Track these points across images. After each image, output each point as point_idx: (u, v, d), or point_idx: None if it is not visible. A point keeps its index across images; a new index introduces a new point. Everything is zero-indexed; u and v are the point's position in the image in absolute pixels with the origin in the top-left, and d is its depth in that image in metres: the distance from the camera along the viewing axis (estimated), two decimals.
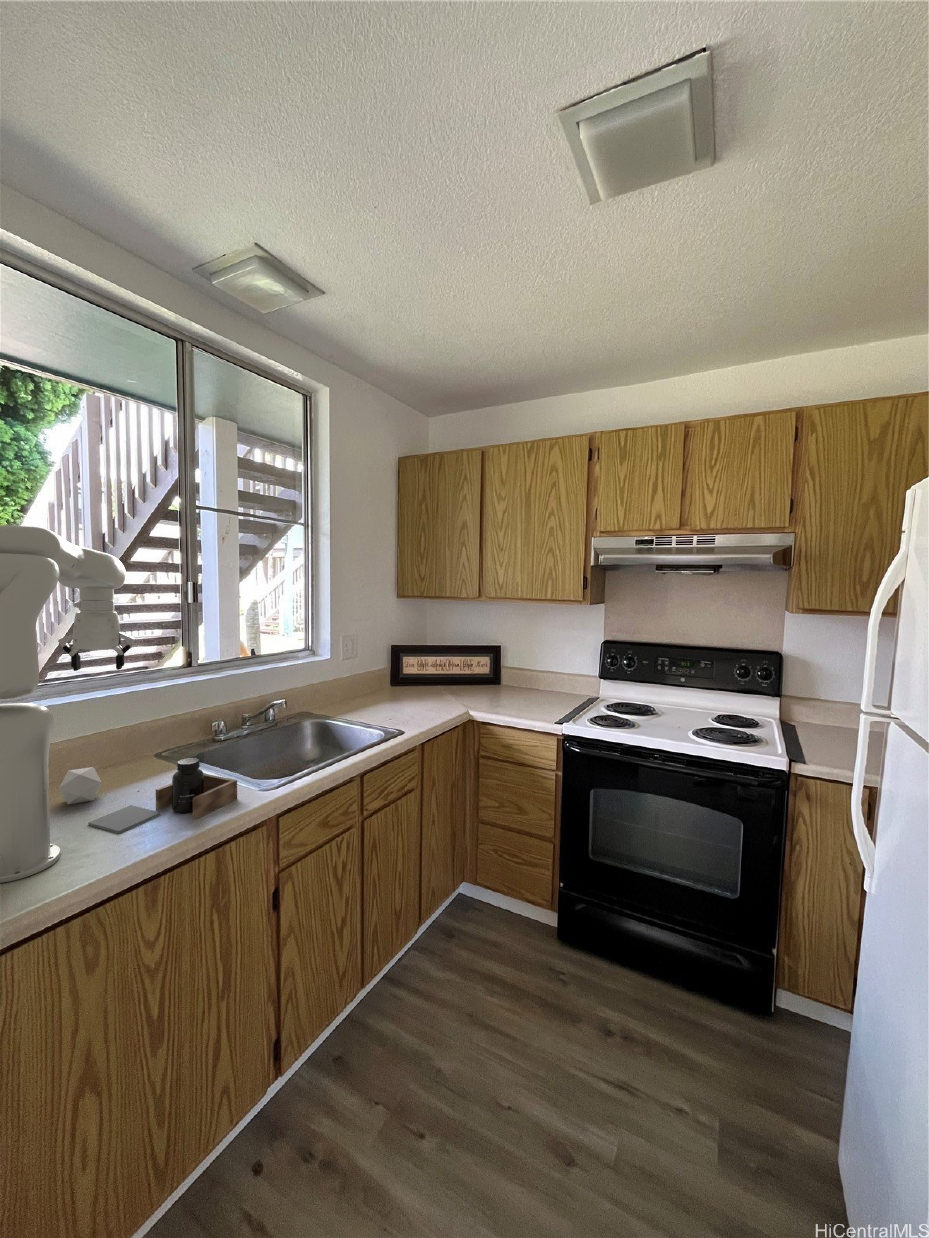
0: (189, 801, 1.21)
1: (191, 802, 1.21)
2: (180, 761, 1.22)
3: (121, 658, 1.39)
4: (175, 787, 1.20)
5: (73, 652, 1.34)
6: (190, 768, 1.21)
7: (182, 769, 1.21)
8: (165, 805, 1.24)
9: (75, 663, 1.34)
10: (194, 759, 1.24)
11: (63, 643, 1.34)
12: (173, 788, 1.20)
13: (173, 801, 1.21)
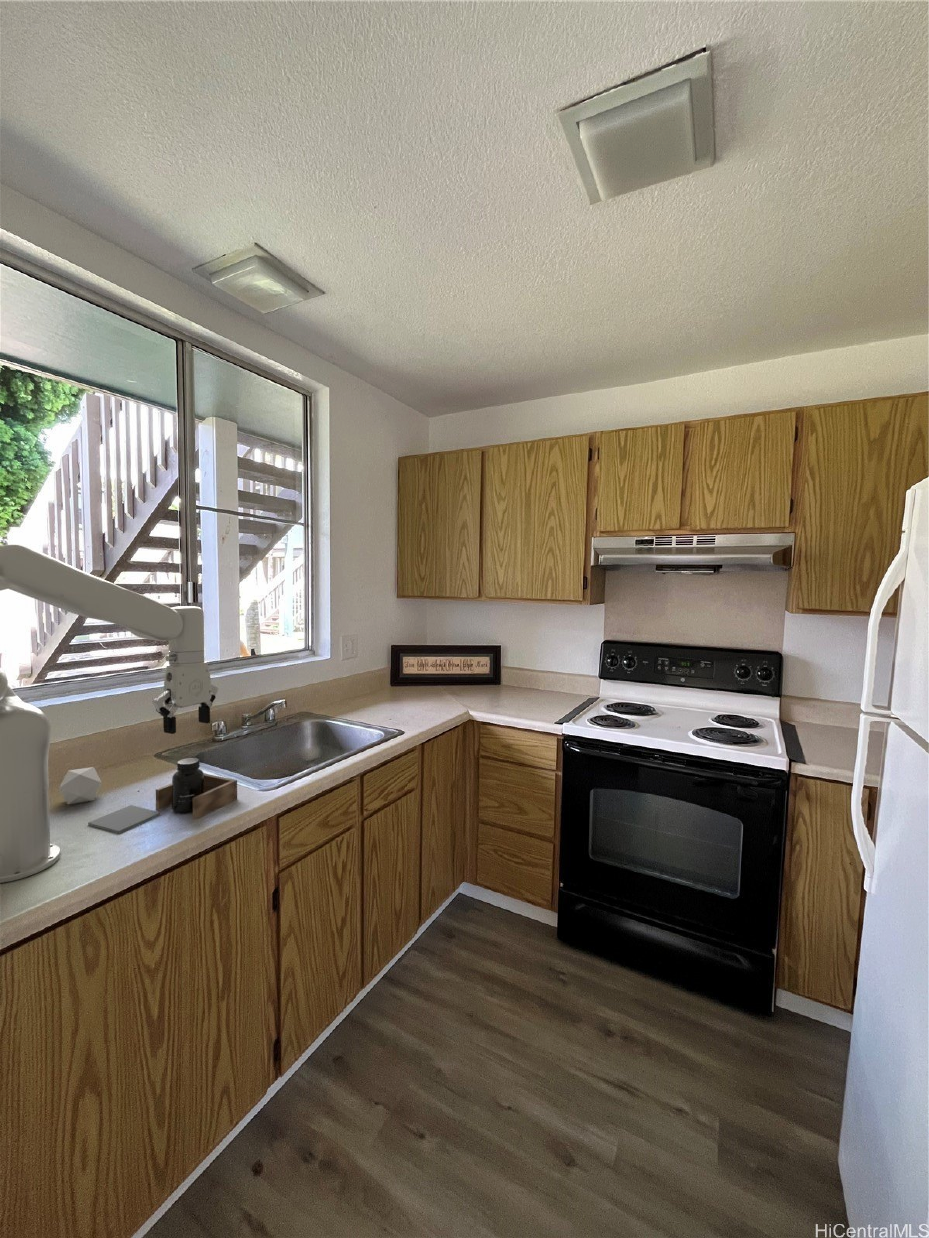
0: (189, 801, 1.21)
1: (191, 802, 1.21)
2: (180, 761, 1.22)
3: None
4: (175, 787, 1.20)
5: (172, 712, 1.17)
6: (190, 768, 1.21)
7: (182, 769, 1.21)
8: (165, 805, 1.24)
9: (175, 724, 1.17)
10: (194, 759, 1.24)
11: (160, 705, 1.15)
12: (173, 788, 1.20)
13: (173, 801, 1.21)
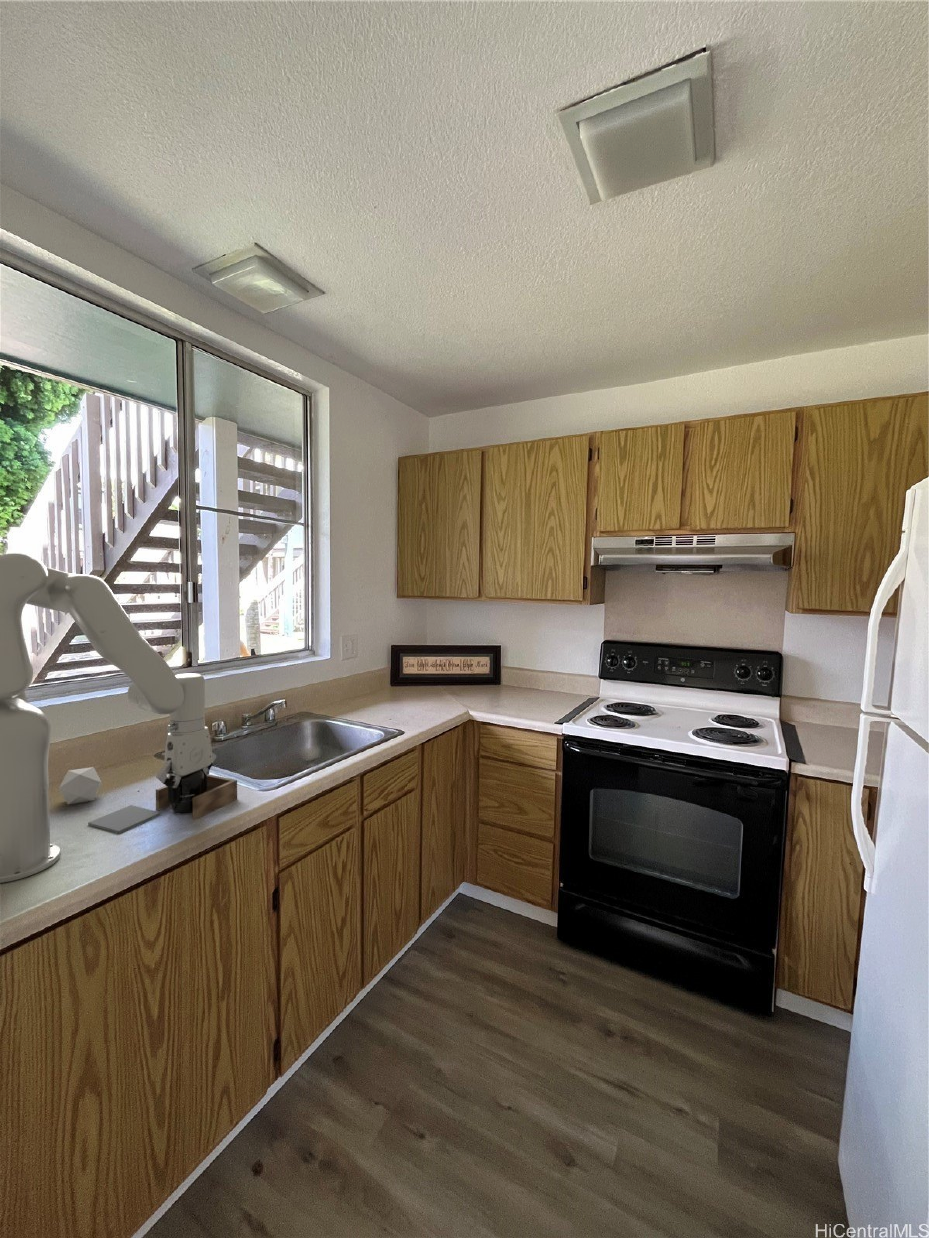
0: (189, 801, 1.21)
1: (191, 802, 1.21)
2: None
3: None
4: None
5: (177, 783, 1.19)
6: None
7: None
8: (165, 805, 1.24)
9: (179, 794, 1.19)
10: None
11: (164, 778, 1.16)
12: None
13: None
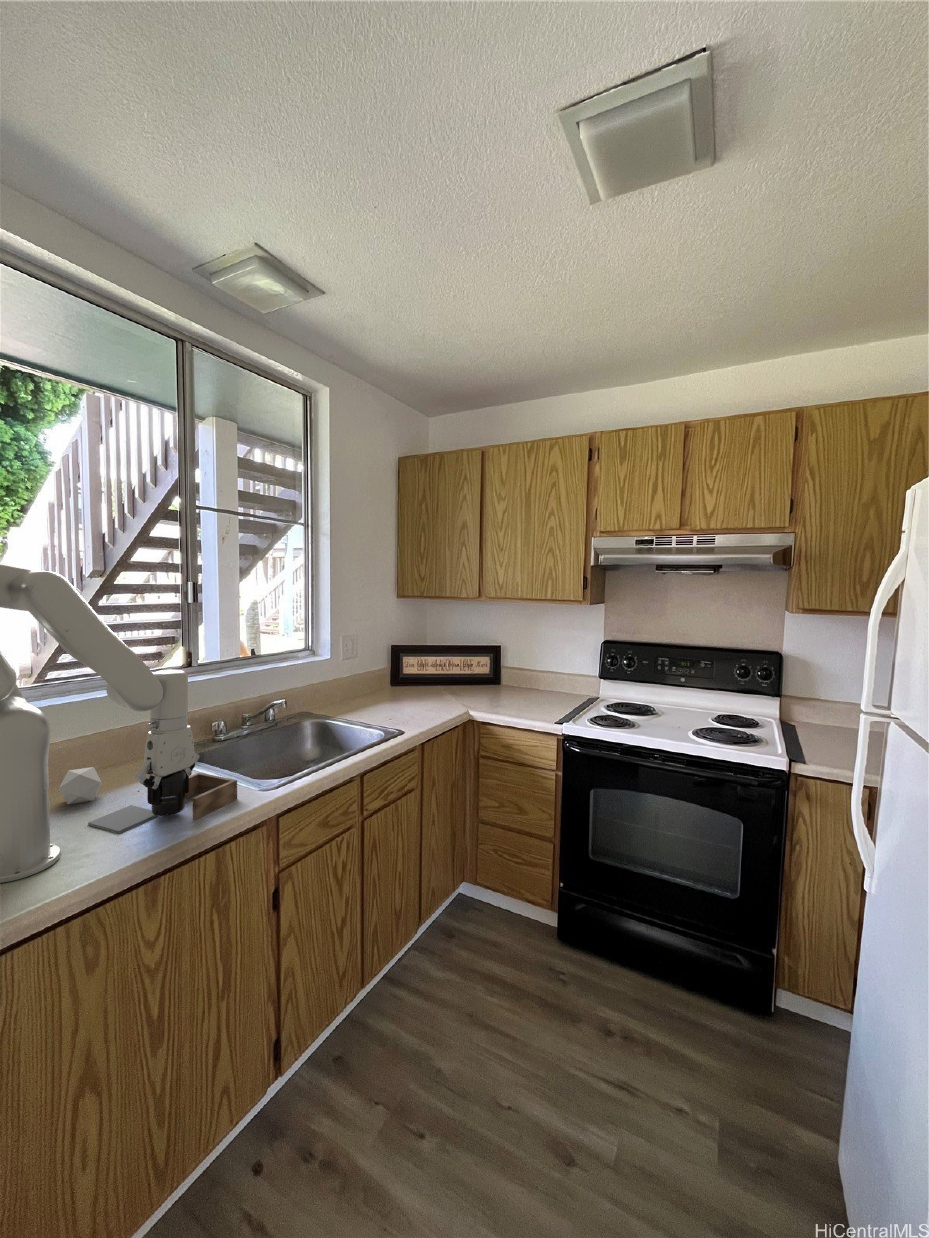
0: (170, 803, 1.16)
1: (172, 804, 1.16)
2: None
3: None
4: None
5: (156, 783, 1.14)
6: None
7: None
8: None
9: (159, 796, 1.14)
10: None
11: (143, 778, 1.12)
12: None
13: None
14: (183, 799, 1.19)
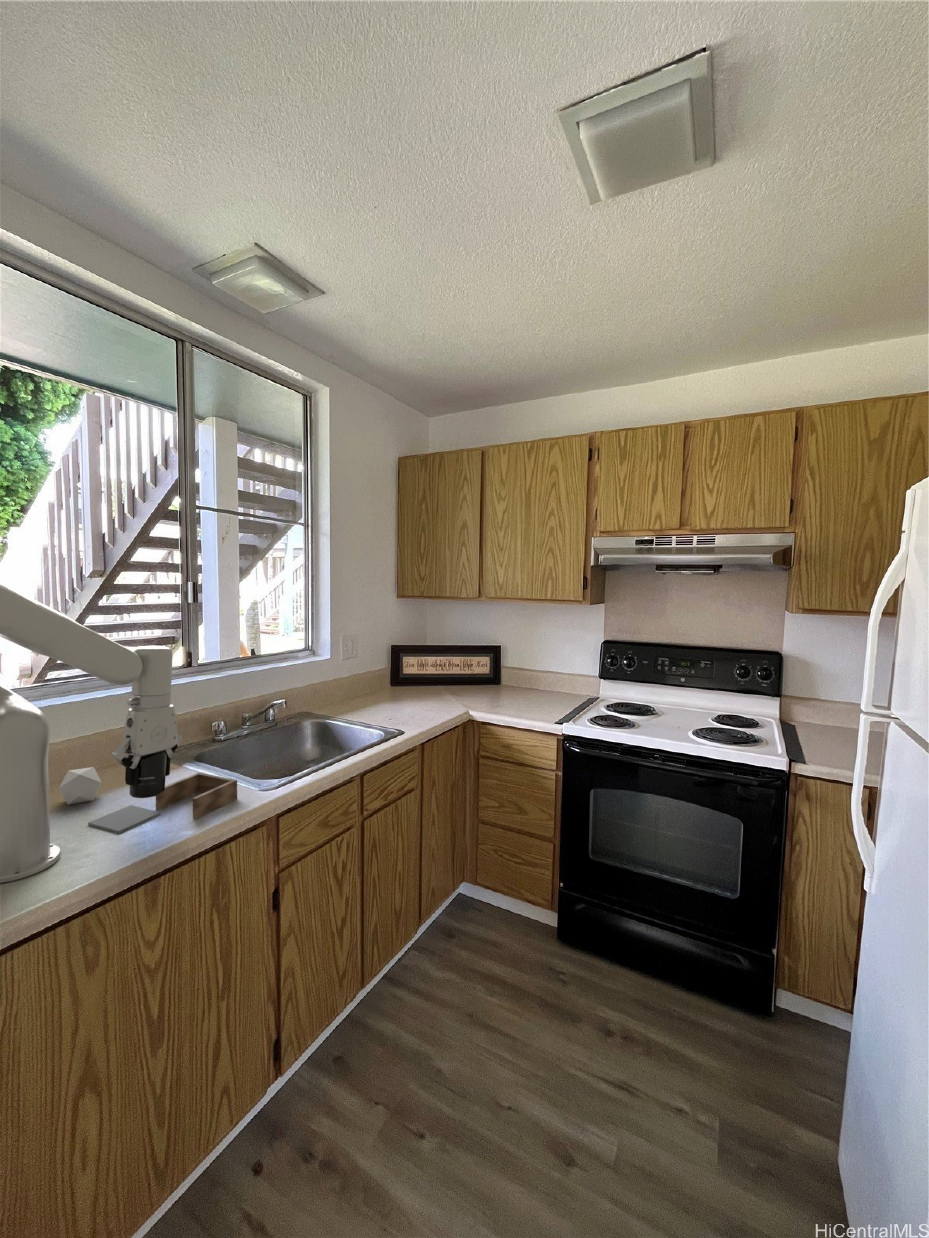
0: (148, 784, 1.11)
1: (150, 785, 1.11)
2: None
3: None
4: None
5: (135, 763, 1.09)
6: None
7: None
8: (165, 805, 1.24)
9: (138, 776, 1.10)
10: None
11: (121, 756, 1.07)
12: None
13: None
14: (163, 781, 1.14)
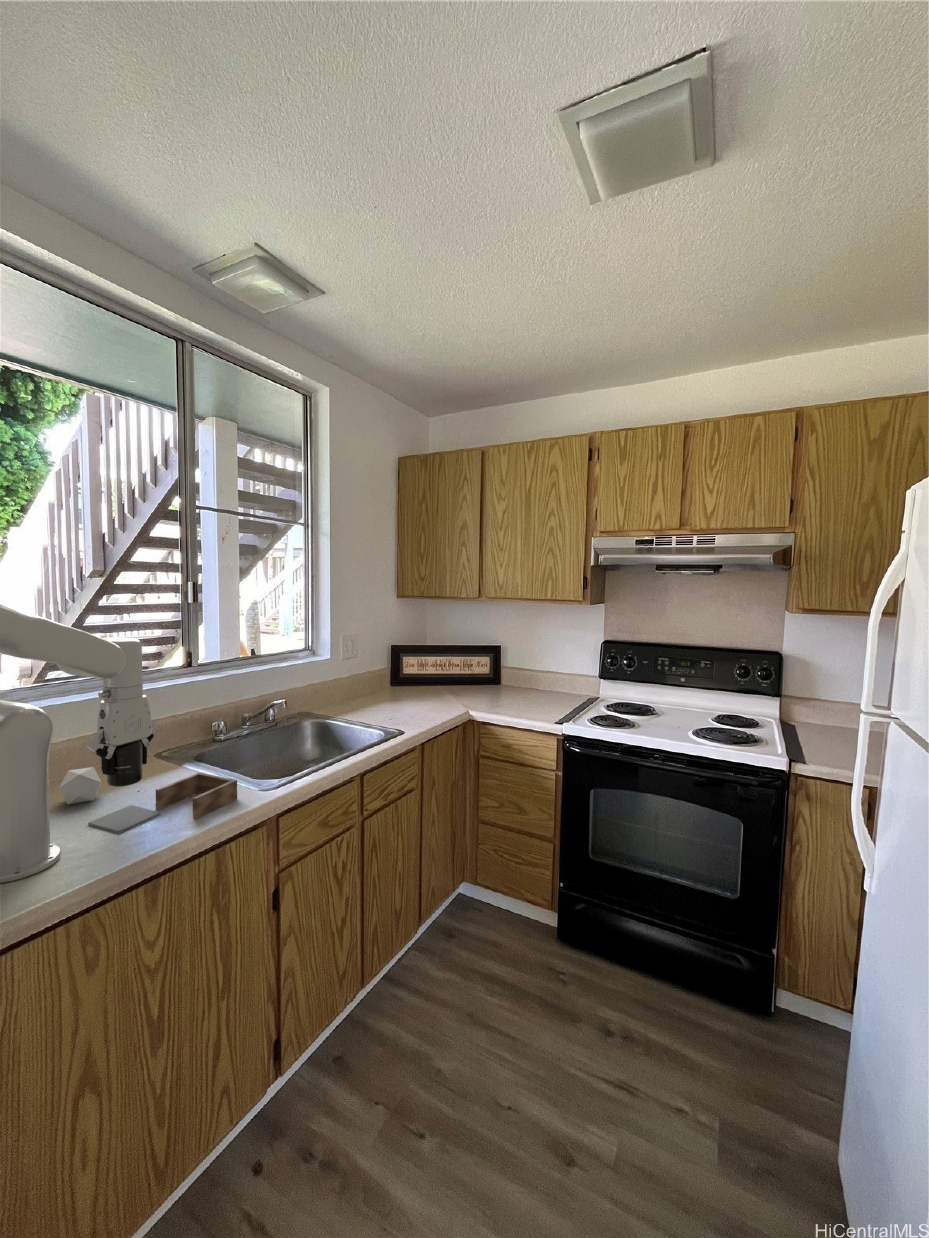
0: (125, 773, 1.14)
1: (127, 774, 1.14)
2: None
3: None
4: None
5: (110, 753, 1.12)
6: None
7: None
8: (165, 805, 1.24)
9: (114, 766, 1.12)
10: None
11: (96, 747, 1.09)
12: None
13: None
14: (140, 770, 1.17)
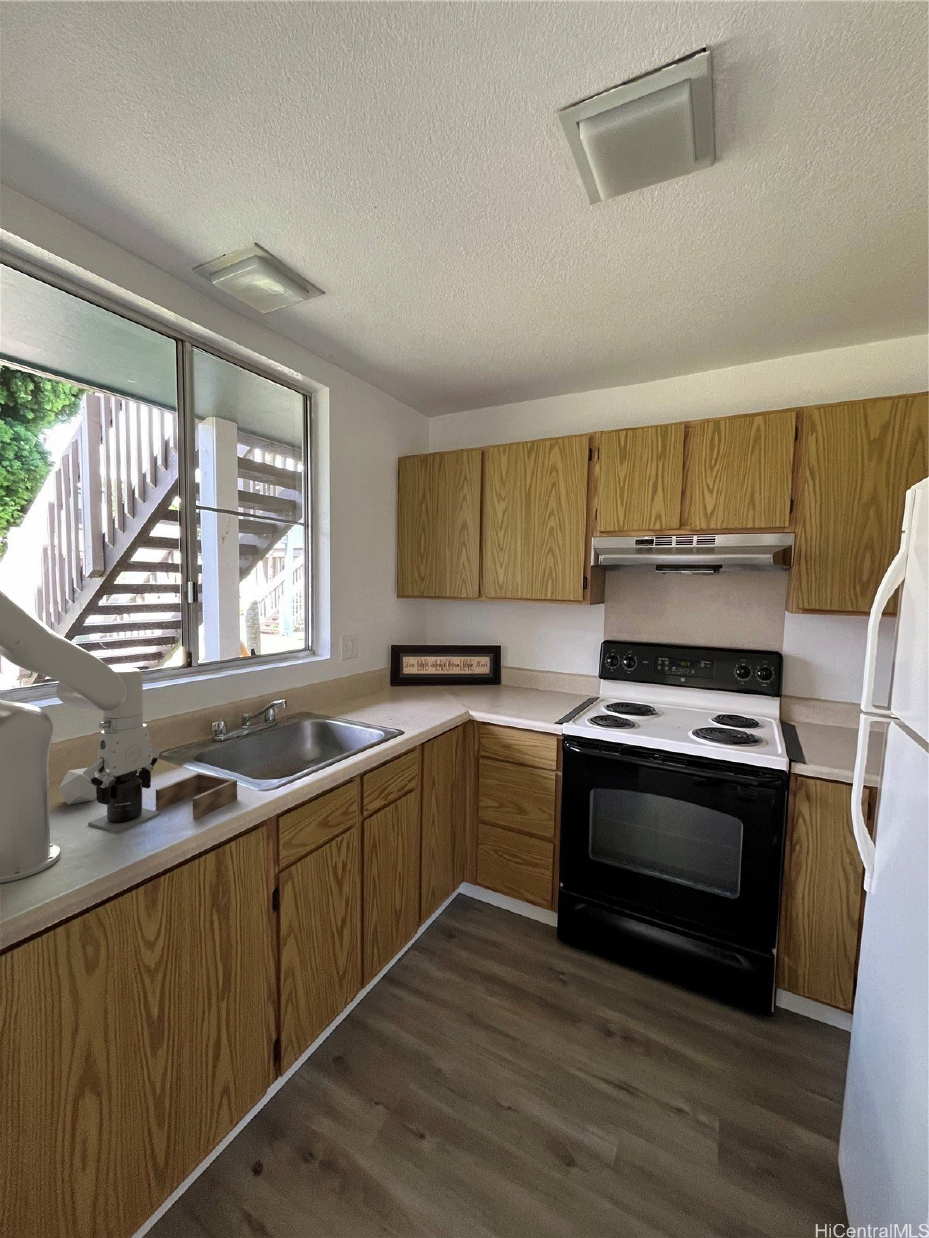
0: (125, 810, 1.14)
1: (127, 810, 1.14)
2: None
3: None
4: None
5: (106, 782, 1.11)
6: (126, 774, 1.14)
7: None
8: (165, 805, 1.24)
9: (109, 795, 1.12)
10: None
11: (92, 776, 1.09)
12: None
13: (108, 809, 1.14)
14: (140, 805, 1.17)
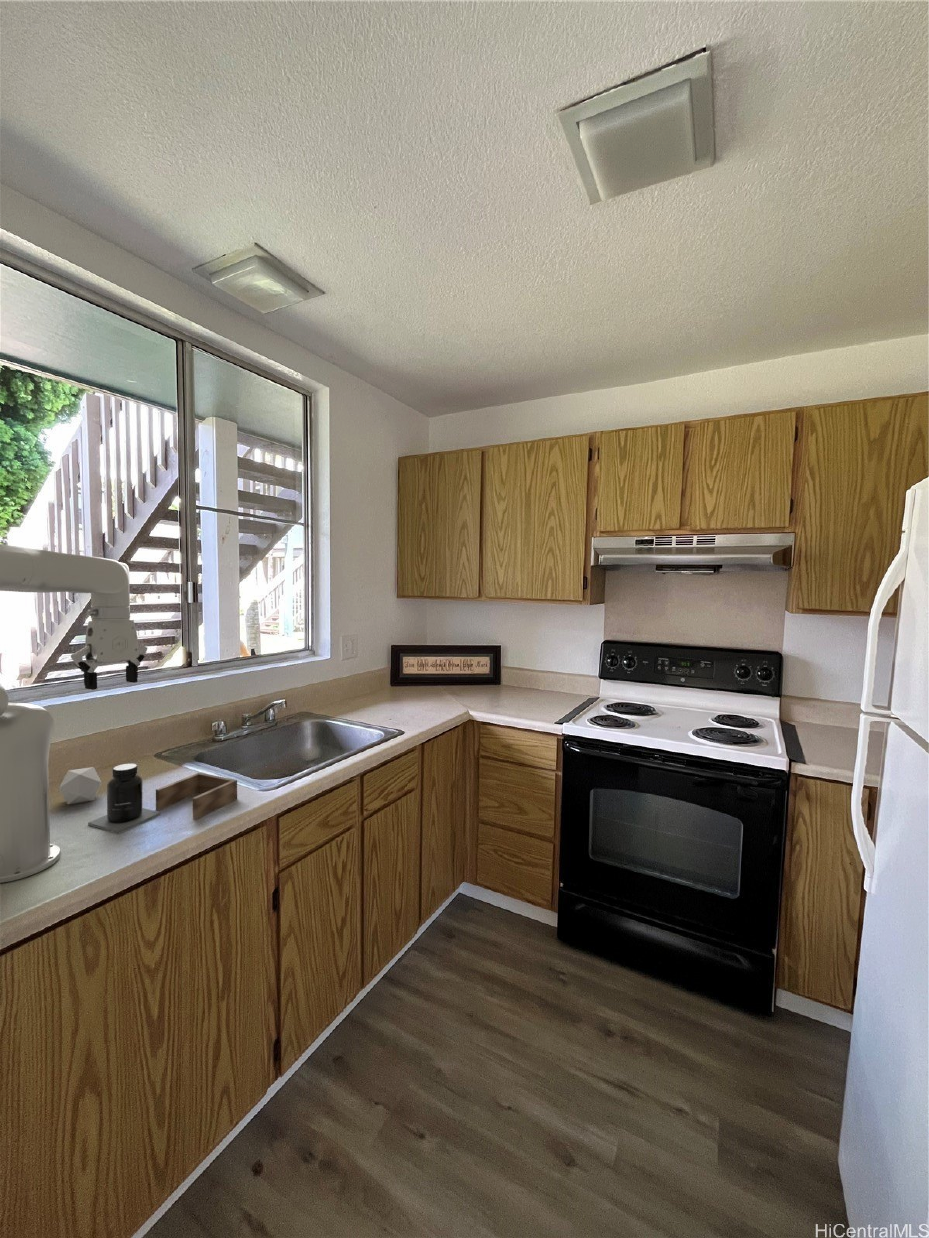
0: (125, 809, 1.14)
1: (127, 810, 1.14)
2: (116, 767, 1.16)
3: (136, 669, 1.25)
4: (110, 795, 1.13)
5: (93, 668, 1.15)
6: (126, 774, 1.14)
7: (117, 776, 1.14)
8: (165, 805, 1.24)
9: (96, 680, 1.16)
10: (132, 765, 1.17)
11: (79, 659, 1.13)
12: (108, 796, 1.14)
13: (108, 809, 1.14)
14: (140, 805, 1.17)
